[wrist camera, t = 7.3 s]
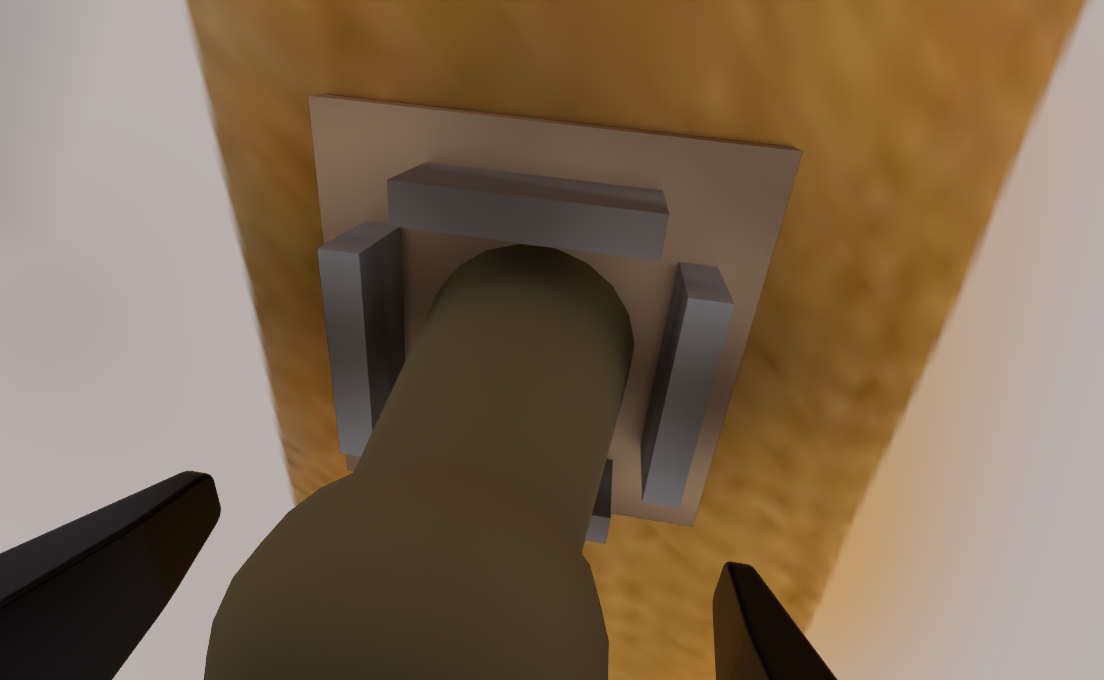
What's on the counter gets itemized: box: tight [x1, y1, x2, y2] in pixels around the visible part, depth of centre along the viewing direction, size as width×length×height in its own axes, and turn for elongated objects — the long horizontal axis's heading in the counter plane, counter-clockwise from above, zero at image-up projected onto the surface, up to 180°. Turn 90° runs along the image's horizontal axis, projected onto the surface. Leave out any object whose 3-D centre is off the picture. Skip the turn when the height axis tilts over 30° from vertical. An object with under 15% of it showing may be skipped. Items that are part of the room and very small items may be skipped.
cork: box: [204, 244, 634, 680], centre depth 11 cm, size 6×6×11 cm
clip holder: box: [308, 94, 803, 544], centre depth 15 cm, size 12×12×3 cm
